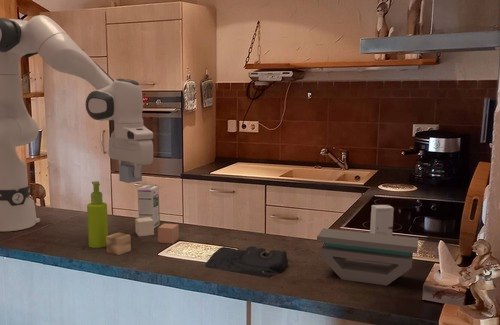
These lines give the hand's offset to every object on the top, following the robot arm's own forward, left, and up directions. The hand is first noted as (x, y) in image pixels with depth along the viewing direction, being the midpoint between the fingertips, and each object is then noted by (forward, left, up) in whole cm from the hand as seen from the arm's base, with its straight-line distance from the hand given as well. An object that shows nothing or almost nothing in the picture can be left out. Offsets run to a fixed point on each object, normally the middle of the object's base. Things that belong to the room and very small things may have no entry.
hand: (130, 175), depth 156 cm
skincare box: (+57, +56, -22) cm, 83 cm away
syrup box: (-11, +14, -22) cm, 28 cm away
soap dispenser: (-5, -9, -22) cm, 24 cm away
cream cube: (-5, +8, -22) cm, 24 cm away
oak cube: (+5, -8, -22) cm, 24 cm away
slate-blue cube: (0, 0, -2) cm, 2 cm away
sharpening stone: (+69, +27, -22) cm, 77 cm away
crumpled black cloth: (+40, +12, -22) cm, 47 cm away
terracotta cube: (+7, +9, -22) cm, 25 cm away
